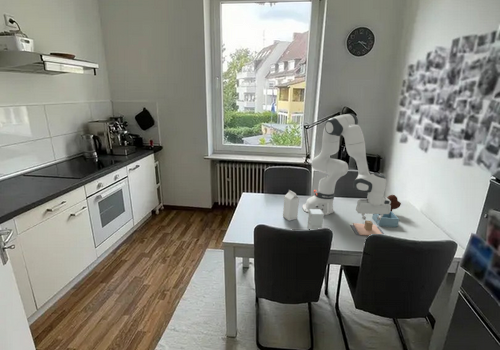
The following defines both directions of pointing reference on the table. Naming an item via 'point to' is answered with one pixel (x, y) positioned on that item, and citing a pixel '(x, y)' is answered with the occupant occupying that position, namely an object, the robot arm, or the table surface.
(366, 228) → the lid
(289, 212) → the milk carton
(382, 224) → the dish
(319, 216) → the supplement box
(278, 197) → the table surface
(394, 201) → the brown toy tree
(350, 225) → the mat
